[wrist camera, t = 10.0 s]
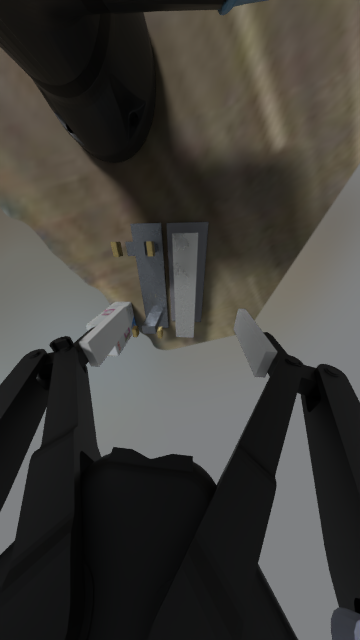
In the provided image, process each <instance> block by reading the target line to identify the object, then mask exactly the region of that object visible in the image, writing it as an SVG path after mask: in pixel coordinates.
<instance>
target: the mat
mask: <svg viewBox="0 0 360 640" xmlns="http://www.w3.org/2000/svg"><path fill="white" fill-rule="evenodd" d="M166 225H167V243H168V261H169V280H170V298H171V316H172V321H175V295H174V269H173V244H172V233H198V250H197V272H196V294H195V316H194V322H201V314H202V301H203V288H204V274H205V261H206V248H207V235H208V222H187V223H166Z"/></svg>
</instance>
